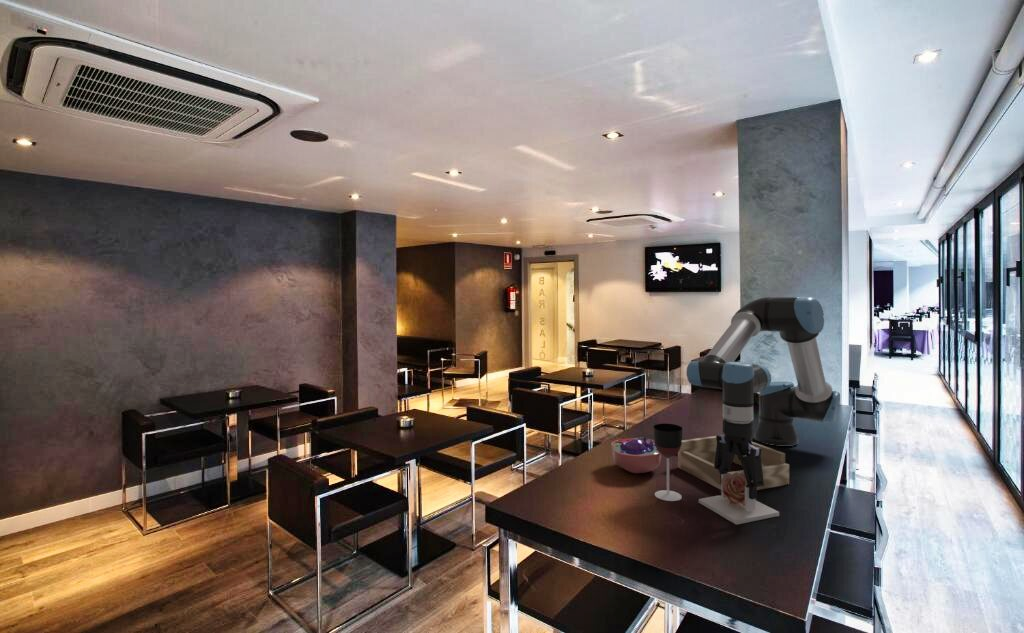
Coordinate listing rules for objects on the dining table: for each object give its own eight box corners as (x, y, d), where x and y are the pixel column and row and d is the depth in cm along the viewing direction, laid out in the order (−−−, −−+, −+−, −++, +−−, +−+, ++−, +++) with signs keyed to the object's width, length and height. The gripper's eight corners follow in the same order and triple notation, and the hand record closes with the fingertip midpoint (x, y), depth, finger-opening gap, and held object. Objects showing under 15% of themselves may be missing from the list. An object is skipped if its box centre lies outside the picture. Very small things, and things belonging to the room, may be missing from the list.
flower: (712, 489, 138) (716, 474, 133) (741, 481, 138) (745, 466, 133) (730, 518, 130) (734, 504, 126) (760, 510, 131) (765, 495, 126)
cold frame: (730, 459, 170) (730, 433, 170) (789, 484, 148) (789, 455, 147) (677, 467, 163) (677, 441, 163) (730, 494, 141) (730, 464, 140)
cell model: (667, 463, 167) (666, 431, 167) (658, 484, 149) (658, 448, 149) (618, 457, 175) (617, 426, 174) (604, 476, 156) (604, 442, 156)
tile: (738, 495, 140) (738, 491, 140) (779, 515, 127) (779, 512, 127) (698, 502, 136) (698, 499, 136) (736, 524, 123) (736, 520, 123)
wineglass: (682, 491, 144) (682, 424, 143) (682, 503, 136) (682, 432, 135) (654, 488, 146) (654, 422, 146) (653, 499, 138) (652, 430, 137)
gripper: (700, 412, 139) (700, 490, 140) (757, 431, 119) (757, 522, 120) (721, 410, 141) (721, 487, 142) (780, 428, 122) (780, 517, 123)
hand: (737, 503), depth 131 cm, fingers closed on flower, 8 cm apart
